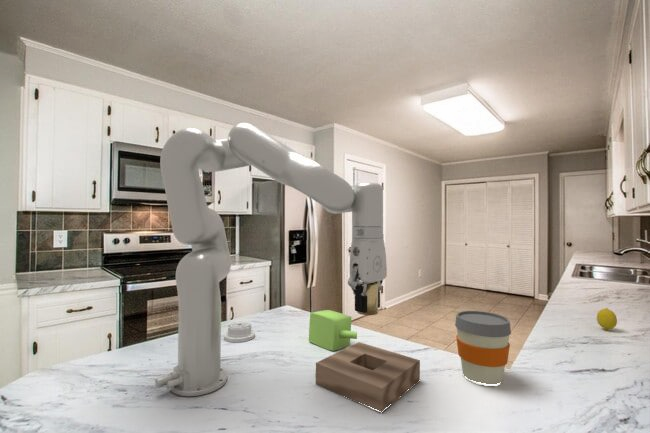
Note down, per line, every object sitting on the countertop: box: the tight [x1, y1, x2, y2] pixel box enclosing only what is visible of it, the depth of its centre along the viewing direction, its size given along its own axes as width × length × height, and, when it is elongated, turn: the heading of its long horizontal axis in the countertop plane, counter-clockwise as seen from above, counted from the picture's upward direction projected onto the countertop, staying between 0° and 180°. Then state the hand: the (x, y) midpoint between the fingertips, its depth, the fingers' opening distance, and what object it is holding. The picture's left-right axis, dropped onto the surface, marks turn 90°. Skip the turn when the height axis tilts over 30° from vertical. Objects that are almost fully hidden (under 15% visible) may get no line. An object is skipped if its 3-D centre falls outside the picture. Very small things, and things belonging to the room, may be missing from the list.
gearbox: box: [308, 309, 358, 352], centre depth 103 cm, size 18×10×10 cm, turn 45°
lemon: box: [596, 307, 618, 331], centre depth 118 cm, size 6×6×8 cm
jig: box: [315, 341, 421, 412], centre depth 78 cm, size 18×18×5 cm
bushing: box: [356, 282, 379, 316], centre depth 78 cm, size 5×5×7 cm
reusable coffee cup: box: [454, 310, 512, 384], centre depth 81 cm, size 13×13×15 cm
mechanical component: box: [223, 321, 256, 343], centre depth 108 cm, size 10×4×10 cm
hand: (367, 308), depth 78 cm, fingers closed on bushing, 5 cm apart
